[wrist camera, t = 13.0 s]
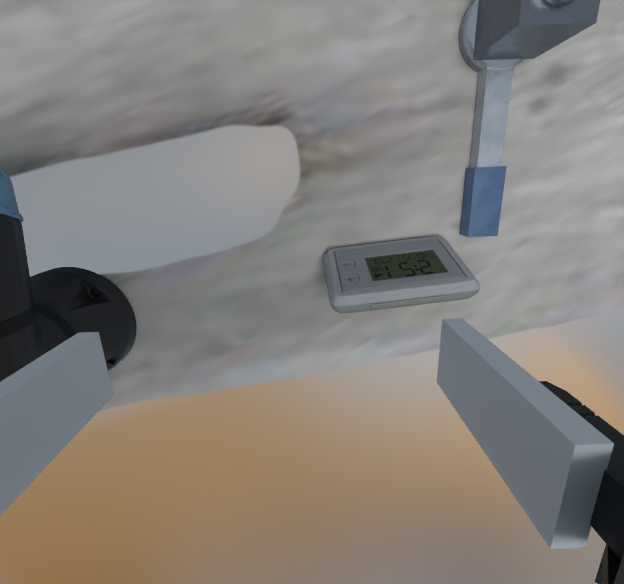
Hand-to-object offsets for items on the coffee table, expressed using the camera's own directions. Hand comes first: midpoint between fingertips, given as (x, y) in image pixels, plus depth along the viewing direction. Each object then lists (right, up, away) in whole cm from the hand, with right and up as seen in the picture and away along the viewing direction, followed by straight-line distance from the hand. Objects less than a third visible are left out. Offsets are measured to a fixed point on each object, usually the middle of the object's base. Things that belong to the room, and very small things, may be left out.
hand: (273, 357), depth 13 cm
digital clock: (+11, +7, +32) cm, 34 cm away
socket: (+22, +30, +22) cm, 43 cm away
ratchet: (+22, +23, +27) cm, 41 cm away
